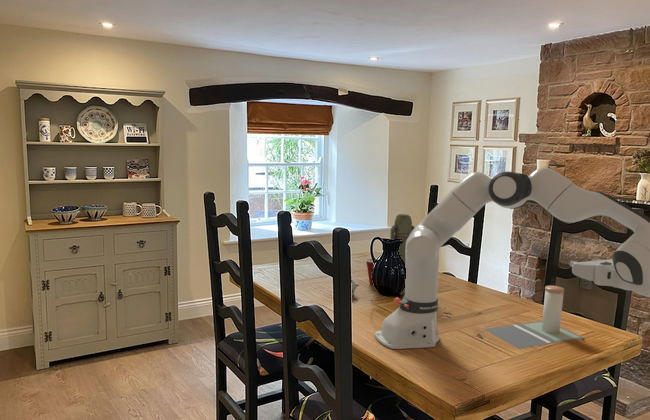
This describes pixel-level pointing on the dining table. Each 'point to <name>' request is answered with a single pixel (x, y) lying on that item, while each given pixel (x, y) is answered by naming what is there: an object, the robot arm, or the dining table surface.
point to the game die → (353, 286)
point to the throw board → (531, 335)
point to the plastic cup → (369, 269)
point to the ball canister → (552, 309)
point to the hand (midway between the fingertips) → (582, 262)
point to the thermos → (402, 234)
